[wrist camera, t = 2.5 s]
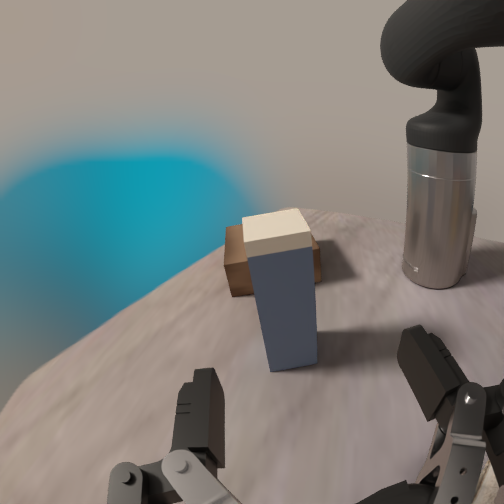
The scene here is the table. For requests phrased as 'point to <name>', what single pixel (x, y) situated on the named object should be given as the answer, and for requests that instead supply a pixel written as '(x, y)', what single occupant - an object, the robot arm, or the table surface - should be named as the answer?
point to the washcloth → (486, 486)
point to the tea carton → (283, 286)
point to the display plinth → (239, 265)
